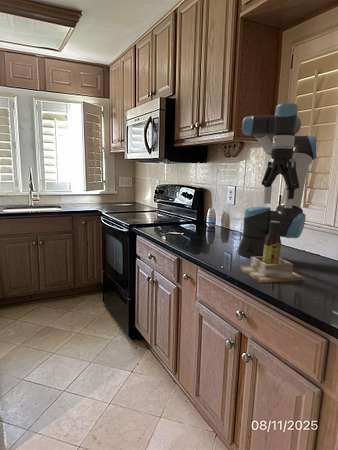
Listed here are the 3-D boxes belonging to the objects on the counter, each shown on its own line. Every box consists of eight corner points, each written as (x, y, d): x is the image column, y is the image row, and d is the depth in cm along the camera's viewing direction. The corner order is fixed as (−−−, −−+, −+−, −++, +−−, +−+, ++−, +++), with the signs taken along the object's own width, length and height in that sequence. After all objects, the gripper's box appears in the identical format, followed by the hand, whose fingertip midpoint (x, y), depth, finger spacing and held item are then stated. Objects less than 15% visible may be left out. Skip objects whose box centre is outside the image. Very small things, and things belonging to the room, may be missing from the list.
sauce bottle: (271, 274, 120) (276, 223, 117) (258, 270, 125) (262, 220, 122) (281, 272, 124) (286, 222, 120) (268, 267, 129) (272, 219, 125)
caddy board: (239, 268, 130) (240, 255, 129) (277, 267, 134) (279, 254, 133) (260, 282, 114) (262, 267, 113) (302, 280, 119) (304, 265, 118)
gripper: (255, 149, 127) (251, 201, 131) (295, 145, 103) (288, 210, 107) (272, 150, 129) (267, 202, 133) (315, 147, 105) (307, 210, 109)
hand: (276, 205), depth 120 cm, fingers open, 13 cm apart
